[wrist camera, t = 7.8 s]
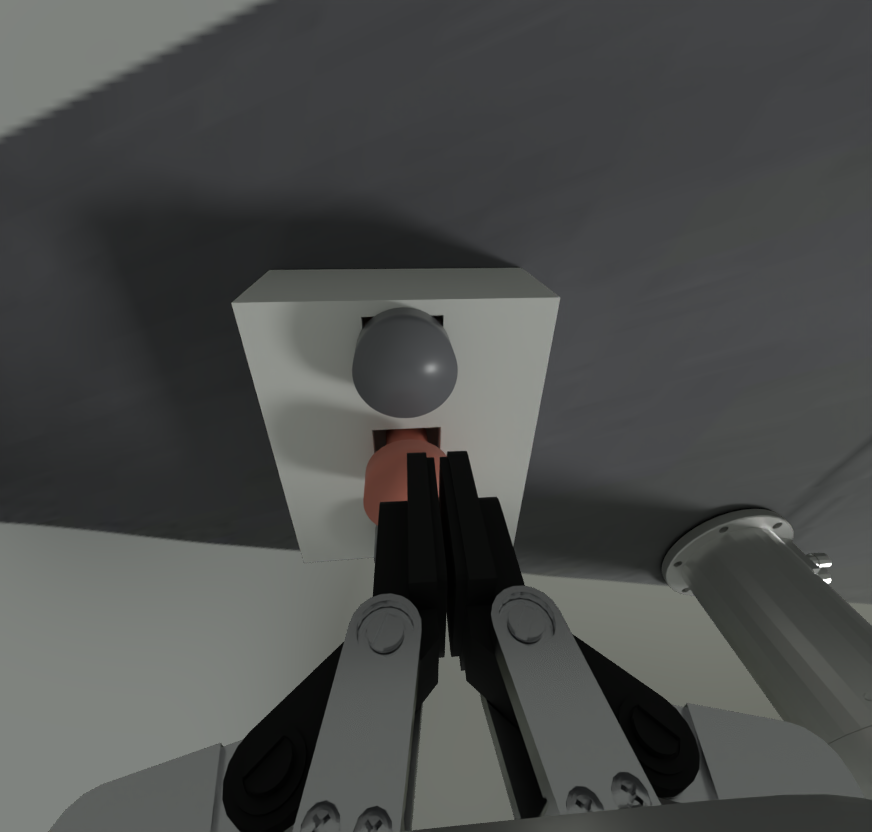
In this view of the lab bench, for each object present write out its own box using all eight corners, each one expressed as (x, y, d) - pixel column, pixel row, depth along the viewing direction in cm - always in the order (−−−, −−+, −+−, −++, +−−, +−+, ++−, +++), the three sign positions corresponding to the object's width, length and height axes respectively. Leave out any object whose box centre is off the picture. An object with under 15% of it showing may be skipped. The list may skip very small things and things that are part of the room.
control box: (521, 267, 22) (560, 297, 17) (493, 485, 31) (513, 546, 26) (269, 269, 21) (231, 302, 16) (318, 497, 30) (303, 563, 25)
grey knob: (443, 285, 20) (459, 321, 15) (441, 363, 22) (455, 416, 17) (356, 286, 19) (346, 324, 15) (364, 366, 22) (357, 420, 17)
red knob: (444, 400, 22) (458, 463, 17) (442, 460, 24) (454, 530, 19) (365, 404, 21) (358, 469, 17) (371, 464, 24) (367, 536, 19)
